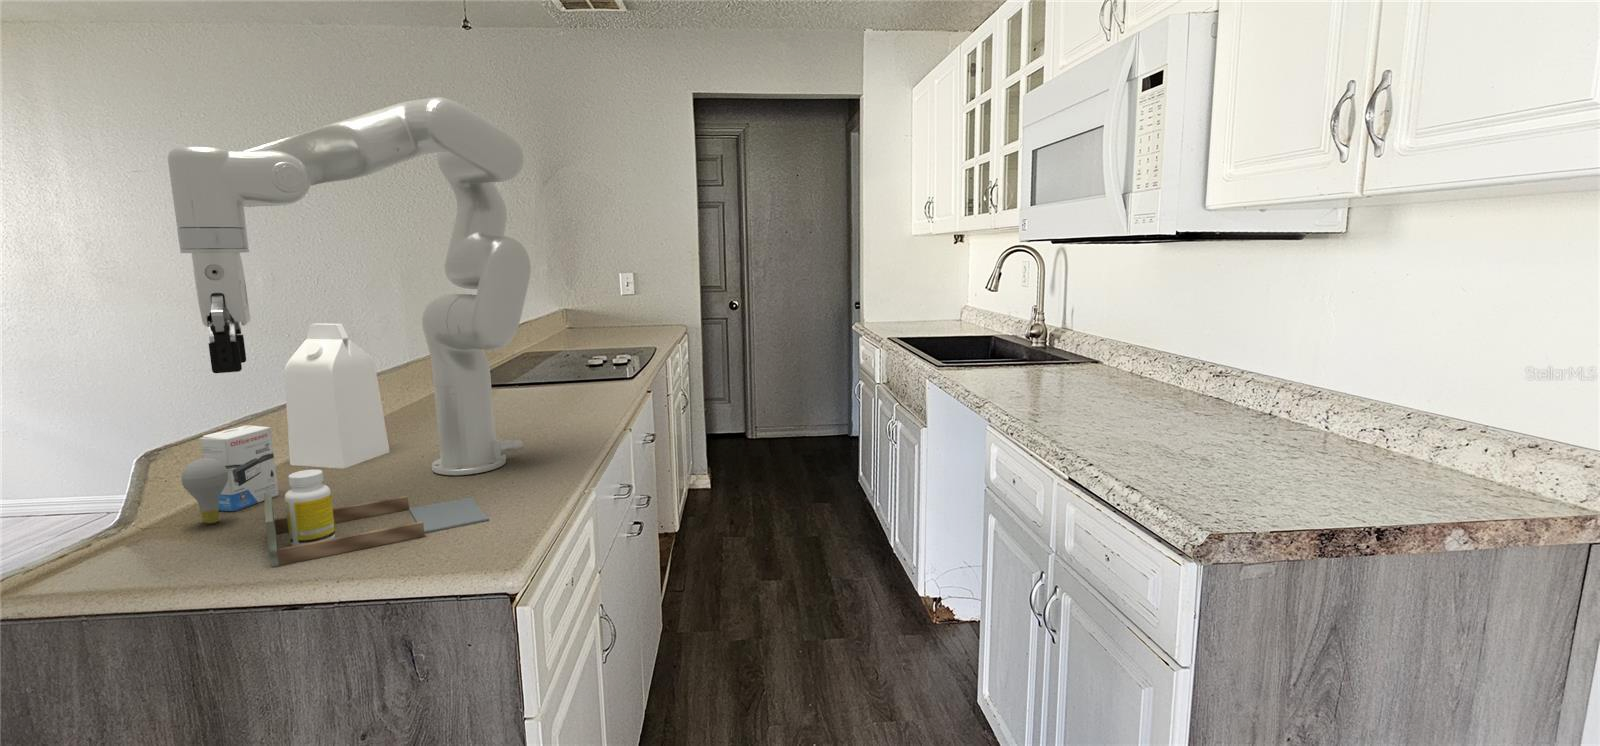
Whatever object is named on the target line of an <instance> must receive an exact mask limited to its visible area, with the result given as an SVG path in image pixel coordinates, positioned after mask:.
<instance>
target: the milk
mask: <svg viewBox="0 0 1600 746" xmlns="http://www.w3.org/2000/svg"><path fill="white" fill-rule="evenodd" d="M284 385H285V387H284V389H285V402H286V404H285V405H286V416H287V417H286V420H287V438H288V453H289V466H296V467H297V466H299V467H313V468H314V467H315V468H328V469H329V468H330V469H331V468H332V469H347V468H349V467H353V466H355V465H358V464H361V463H362V462H367V461H369V460H372V459H374V458H378V457H380V456H383V455H386V454H388V453H390V446H389V442H388V441H389V440H388V434H387V429H386V423H385V416H384V410H383V409H384V408H383V404H382V398H381V393H380V392H381V391H380V385H379V380H378V375H377V369H376V363H375V360H374V359H373V358H372V356H371V355H370V354H368V352H366V351H365V350H364V349H363V348H361V347H360V346H359V345H358V344H356V343H355V342H354V341H353V340H351V339H350V338H349V337H348V334H347V331H346V330H345V327H344V326H343V323H319V322H318V323H310V324H309V328H308V331H307V335H306V339H305V340H304V341H303V342H302V344H301V345H300V346H299V347H298V348H297V350H296V351H295V352H294V353H293V354H292V356H291V357H290V358H289V360H288V361H287V362H286V365H285V367H284Z"/></svg>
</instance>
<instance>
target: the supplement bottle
mask: <svg viewBox="0 0 1600 746" xmlns="http://www.w3.org/2000/svg"><path fill="white" fill-rule="evenodd" d="M323 473H324V472H323V470H321V469H316V468H315V469H304V470H298V471H296V472H292V473H291V474H288V483H289V487H291V489H289V490H288V491H287V492H286V493H285V495H284V503H285V510H286V517H287V521H288V529H289V531H288V536H289V542H290V546H295V545H300V544H305V543H310V542H316V541H321V540H326V539H331V538H336V526H335V523H334V517H333V508H334V507H333V501H332V500H333V499H332V493H331V489H330V486H327V485H326V484H323V482H324V475H323Z"/></svg>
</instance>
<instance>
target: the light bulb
mask: <svg viewBox="0 0 1600 746" xmlns="http://www.w3.org/2000/svg"><path fill="white" fill-rule="evenodd" d="M227 481H228V471H227V469H226V467H225V466H224V464H223V463H221V462H220V461H218V460H216V459H212V458H203V457H202V458H198V459H196V460H193V461H192V462H190V463H188V464H187V465H186V466H185V467H184V469H183V471H182V473H181V484H182V486H183V488H184V489H185V490H186V491H187V492H188V494H190V496H192V497H193V499H195V500H196V502H197V503H198V506H199V512H200V513H201V519H202V522H203V523H205V524H208V525H210V526H211V525H214V524H215V523H216V522H218V521H220V512H219V511H220V510H219V503H218V502H219V497H220V495H221V493H222V491H223V489H224V487H225V485H226V483H227Z"/></svg>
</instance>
